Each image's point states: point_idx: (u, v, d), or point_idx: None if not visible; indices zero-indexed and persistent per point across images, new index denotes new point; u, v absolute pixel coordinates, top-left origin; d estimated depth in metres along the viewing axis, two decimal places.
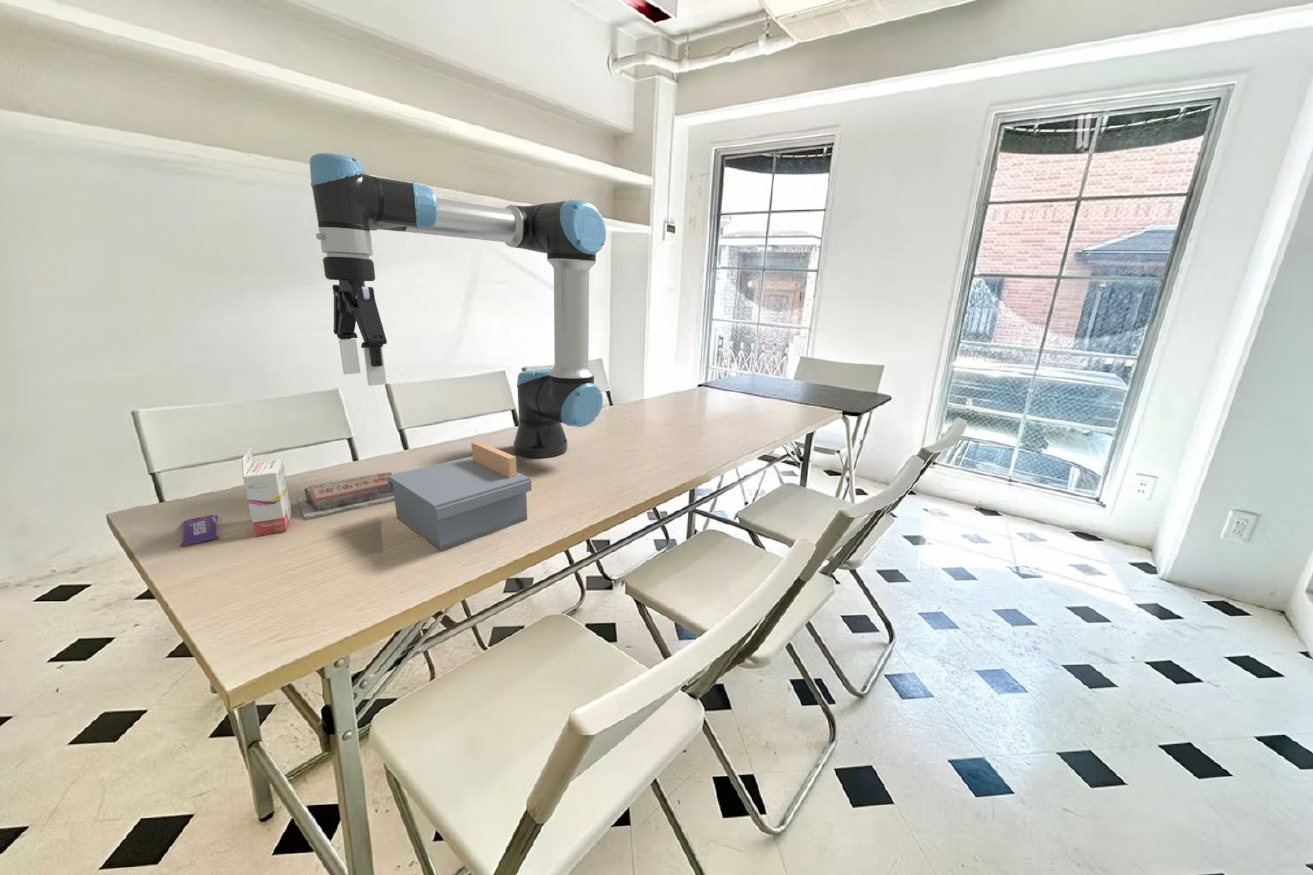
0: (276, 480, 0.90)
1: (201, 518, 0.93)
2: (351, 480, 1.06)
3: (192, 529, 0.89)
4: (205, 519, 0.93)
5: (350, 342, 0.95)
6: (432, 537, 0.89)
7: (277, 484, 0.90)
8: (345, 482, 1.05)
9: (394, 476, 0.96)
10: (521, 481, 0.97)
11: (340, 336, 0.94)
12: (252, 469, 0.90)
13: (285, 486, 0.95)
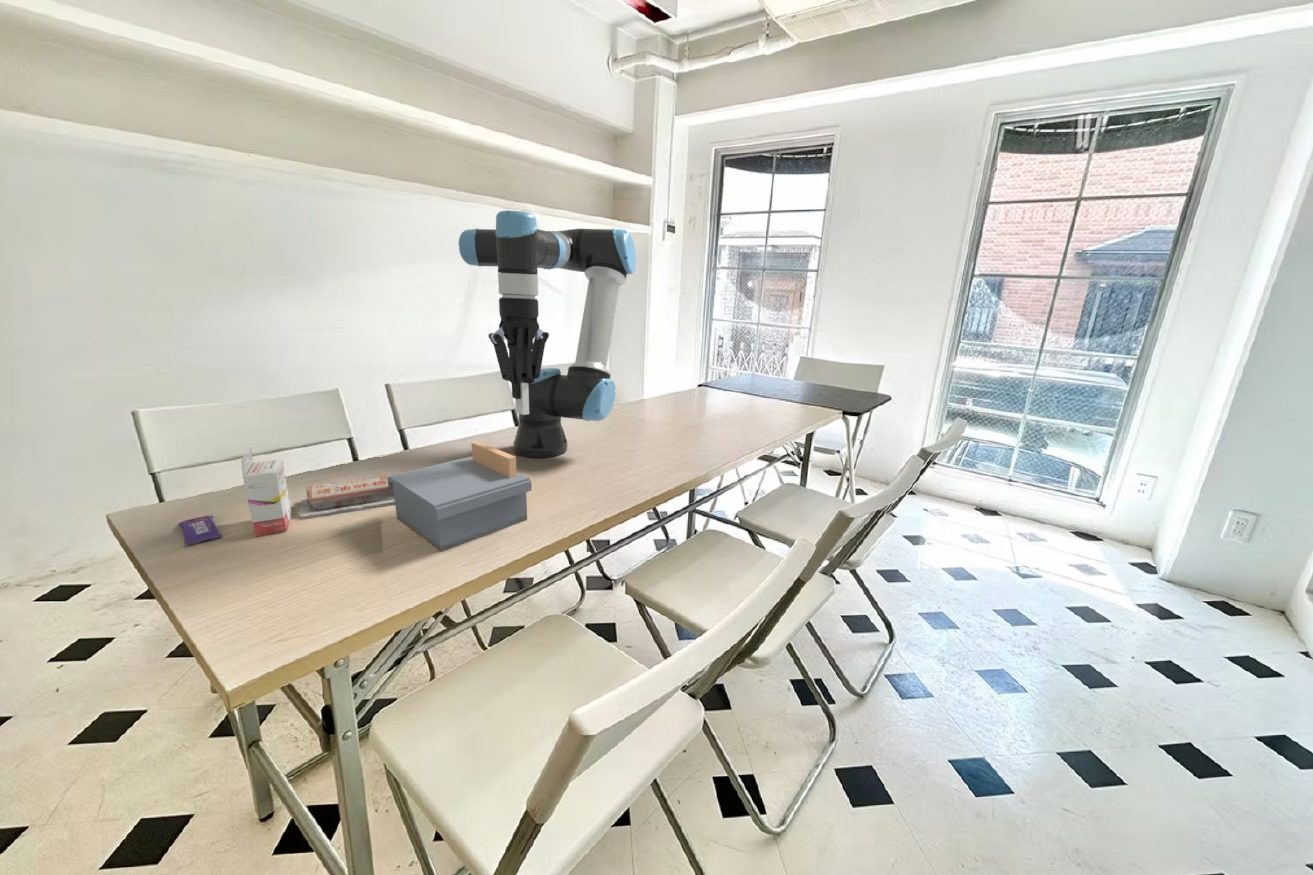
0: (276, 480, 0.90)
1: (198, 519, 0.93)
2: (352, 481, 1.05)
3: (193, 528, 0.89)
4: (203, 519, 0.93)
5: None
6: (432, 537, 0.89)
7: (277, 484, 0.90)
8: (346, 483, 1.04)
9: (394, 476, 0.96)
10: (521, 481, 0.97)
11: None
12: (252, 469, 0.90)
13: (285, 486, 0.95)
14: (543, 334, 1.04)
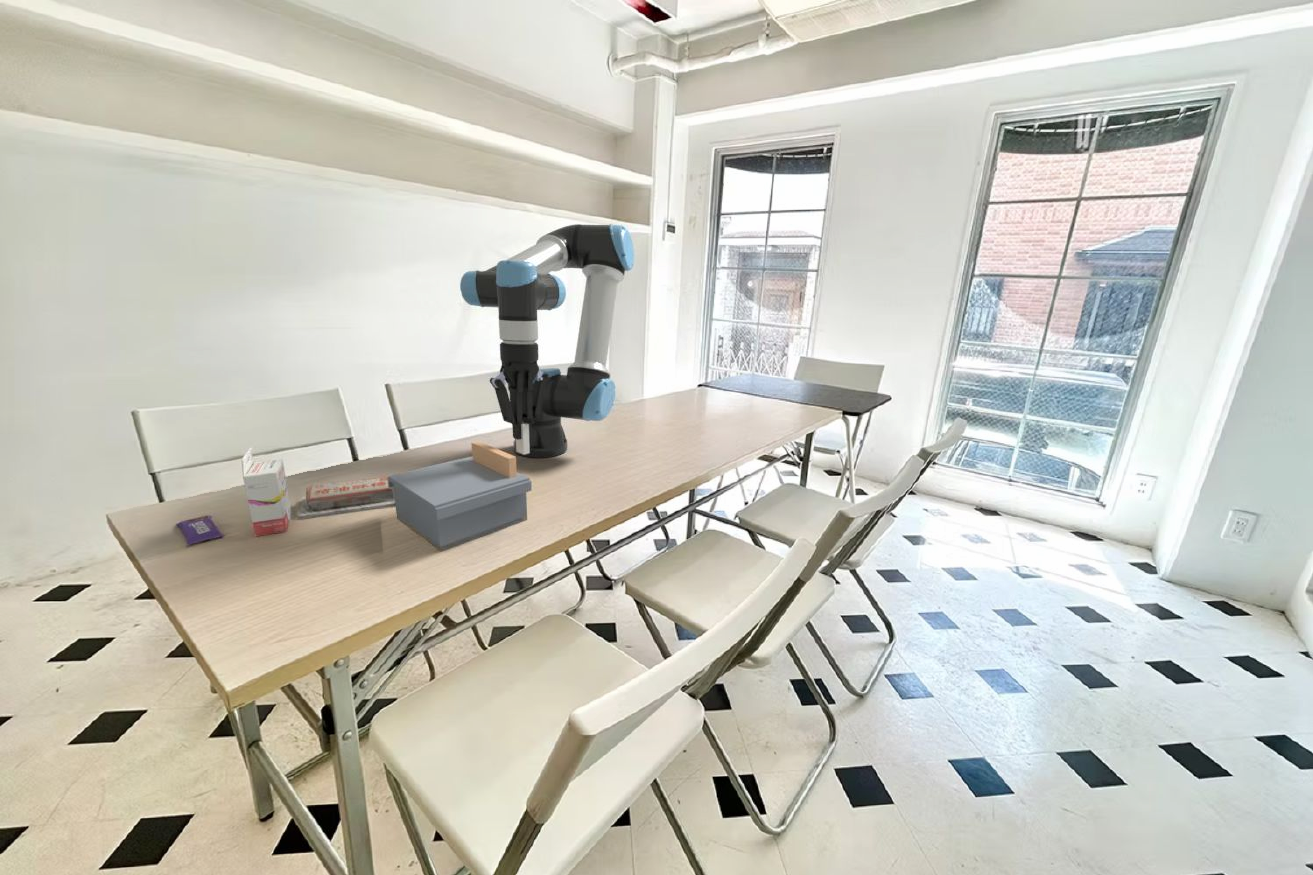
0: (276, 480, 0.90)
1: (197, 519, 0.93)
2: (352, 482, 1.05)
3: (194, 528, 0.89)
4: (202, 519, 0.93)
5: None
6: (432, 537, 0.89)
7: (277, 484, 0.90)
8: (345, 484, 1.04)
9: (394, 476, 0.96)
10: (521, 481, 0.97)
11: (521, 417, 1.06)
12: (252, 469, 0.90)
13: (285, 486, 0.95)
14: (543, 375, 1.06)
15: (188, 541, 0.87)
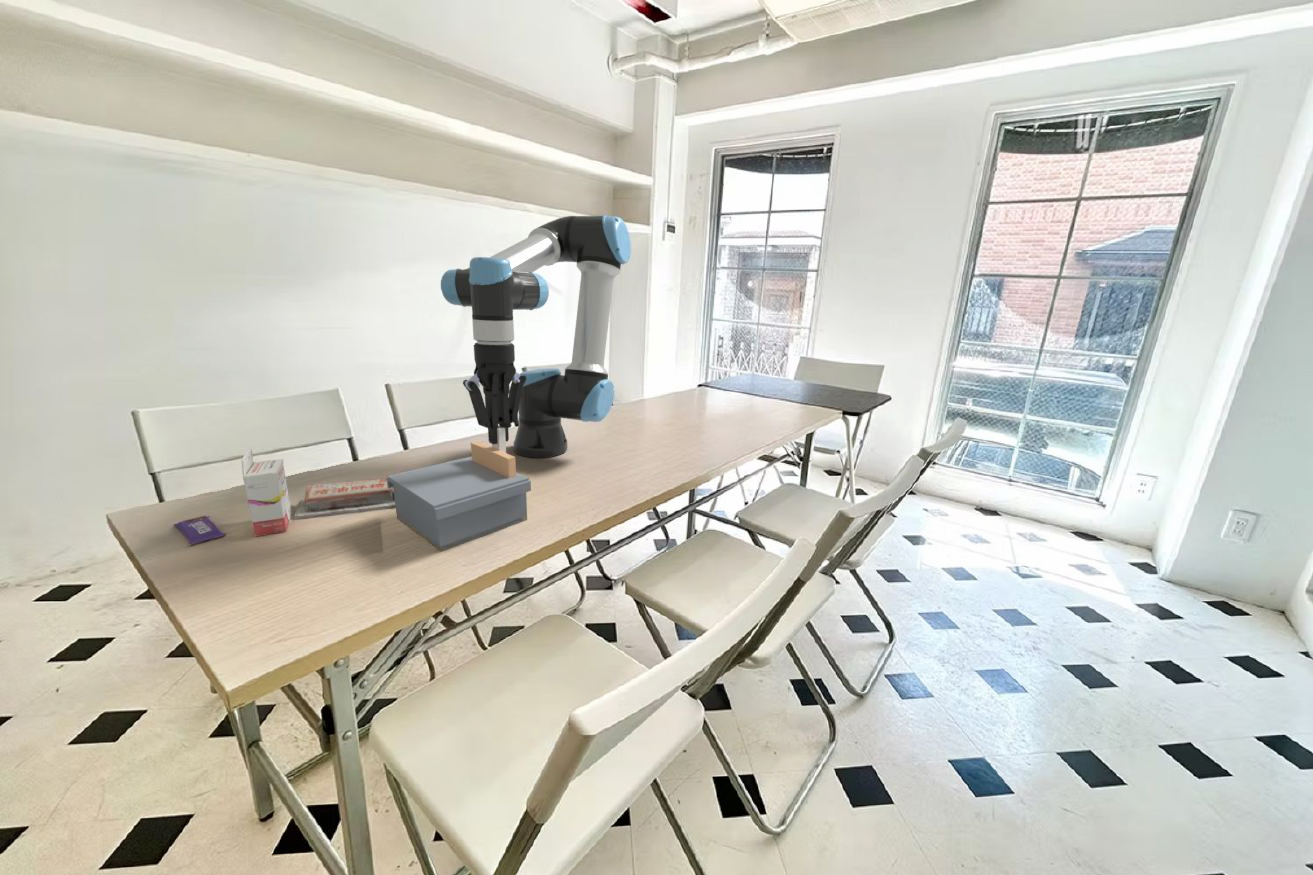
0: (276, 480, 0.90)
1: (195, 519, 0.93)
2: (352, 483, 1.05)
3: (194, 528, 0.89)
4: (201, 519, 0.93)
5: None
6: (432, 537, 0.89)
7: (277, 484, 0.90)
8: (345, 484, 1.04)
9: (393, 476, 0.96)
10: (520, 482, 0.97)
11: (498, 420, 1.02)
12: (252, 469, 0.90)
13: (285, 486, 0.95)
14: (520, 378, 1.02)
15: (190, 541, 0.87)
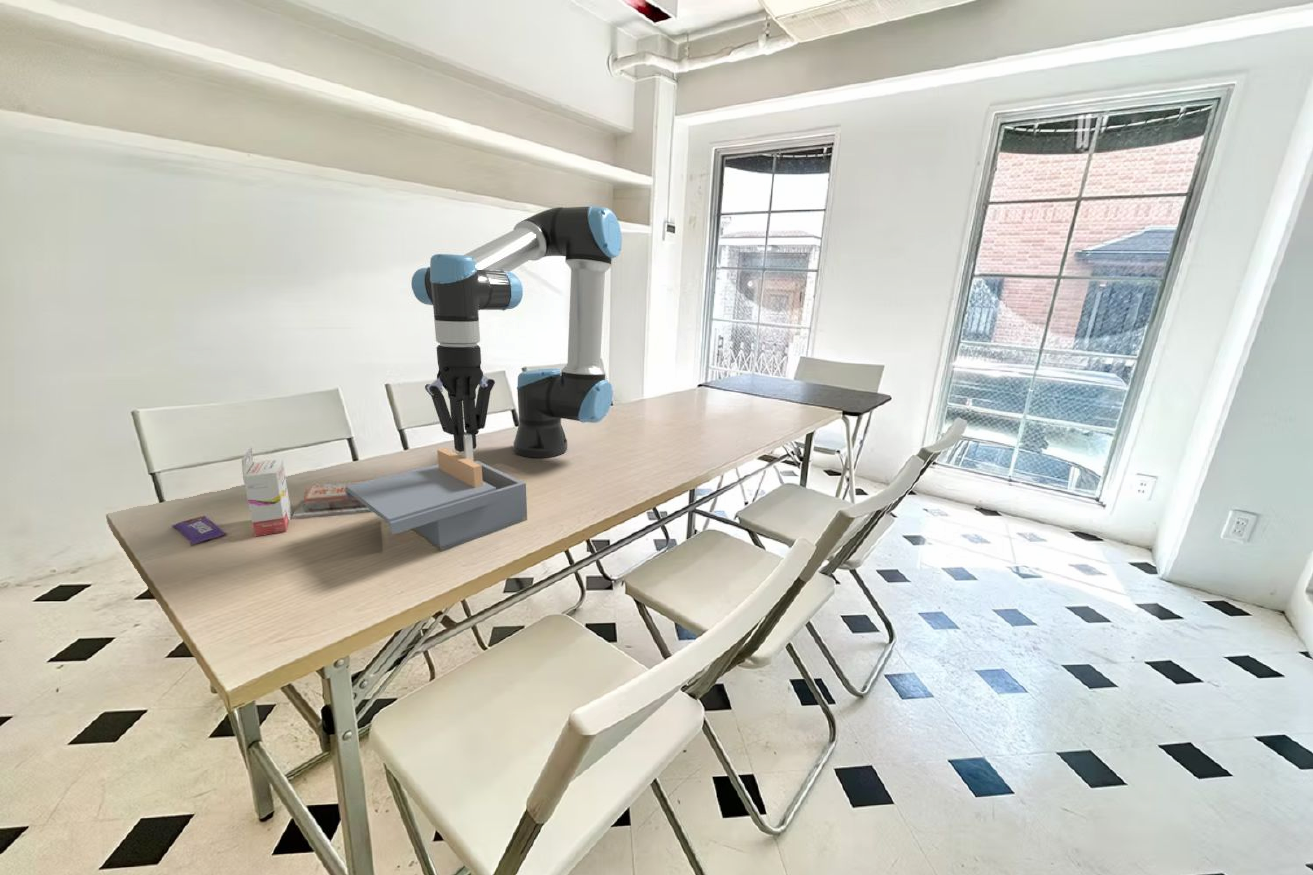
0: (276, 480, 0.90)
1: (194, 519, 0.93)
2: (352, 483, 1.04)
3: (194, 528, 0.89)
4: (200, 520, 0.93)
5: None
6: (432, 537, 0.89)
7: (277, 484, 0.90)
8: (345, 485, 1.04)
9: (352, 486, 0.91)
10: (486, 492, 0.92)
11: (465, 427, 0.97)
12: (252, 469, 0.90)
13: (285, 486, 0.95)
14: (488, 381, 0.97)
15: (192, 541, 0.87)
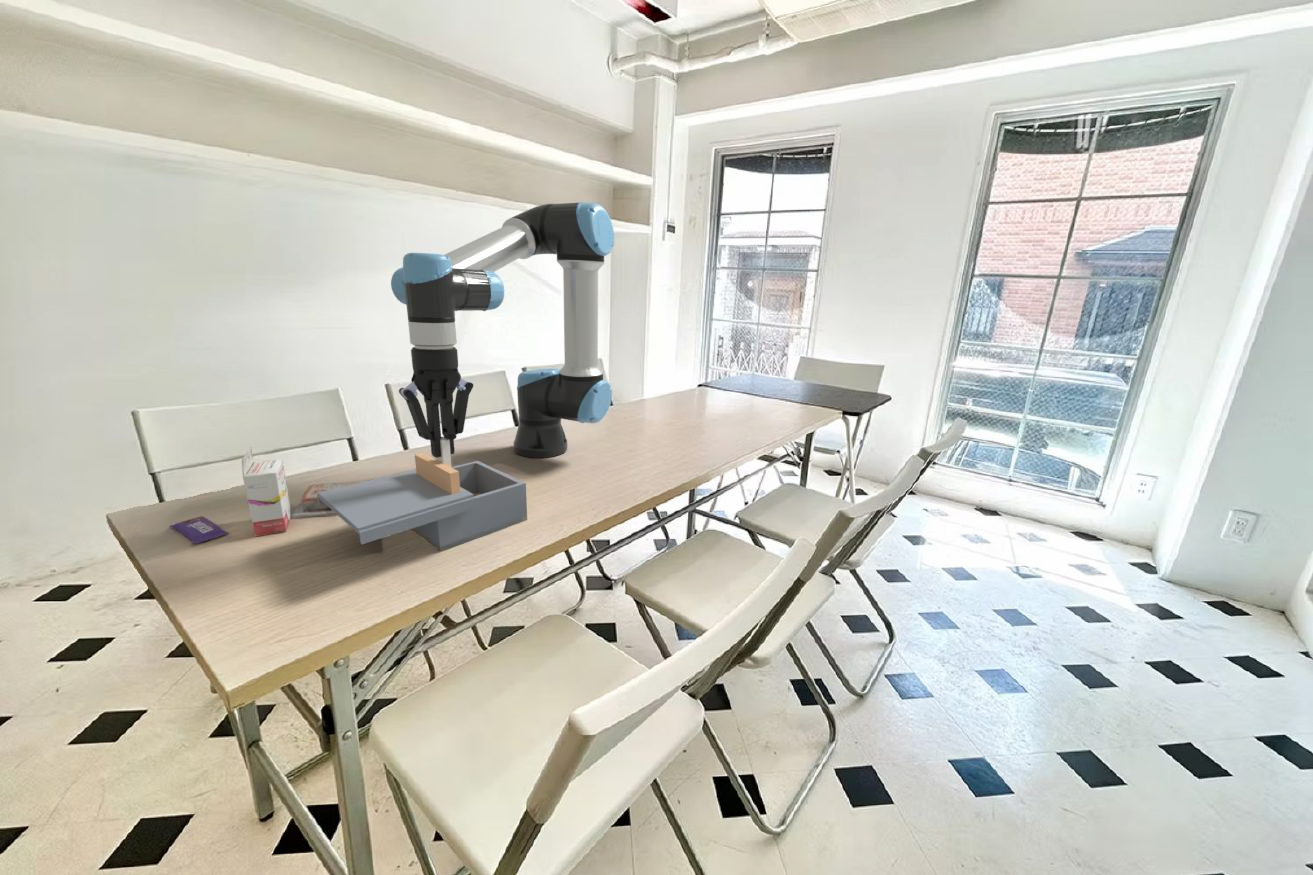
0: (276, 480, 0.90)
1: (193, 520, 0.93)
2: None
3: (195, 528, 0.89)
4: (199, 520, 0.93)
5: None
6: (432, 537, 0.89)
7: (277, 484, 0.90)
8: (344, 485, 1.03)
9: (324, 493, 0.88)
10: (463, 498, 0.88)
11: (442, 431, 0.94)
12: (252, 469, 0.90)
13: (285, 486, 0.95)
14: (466, 385, 0.93)
15: (193, 540, 0.87)
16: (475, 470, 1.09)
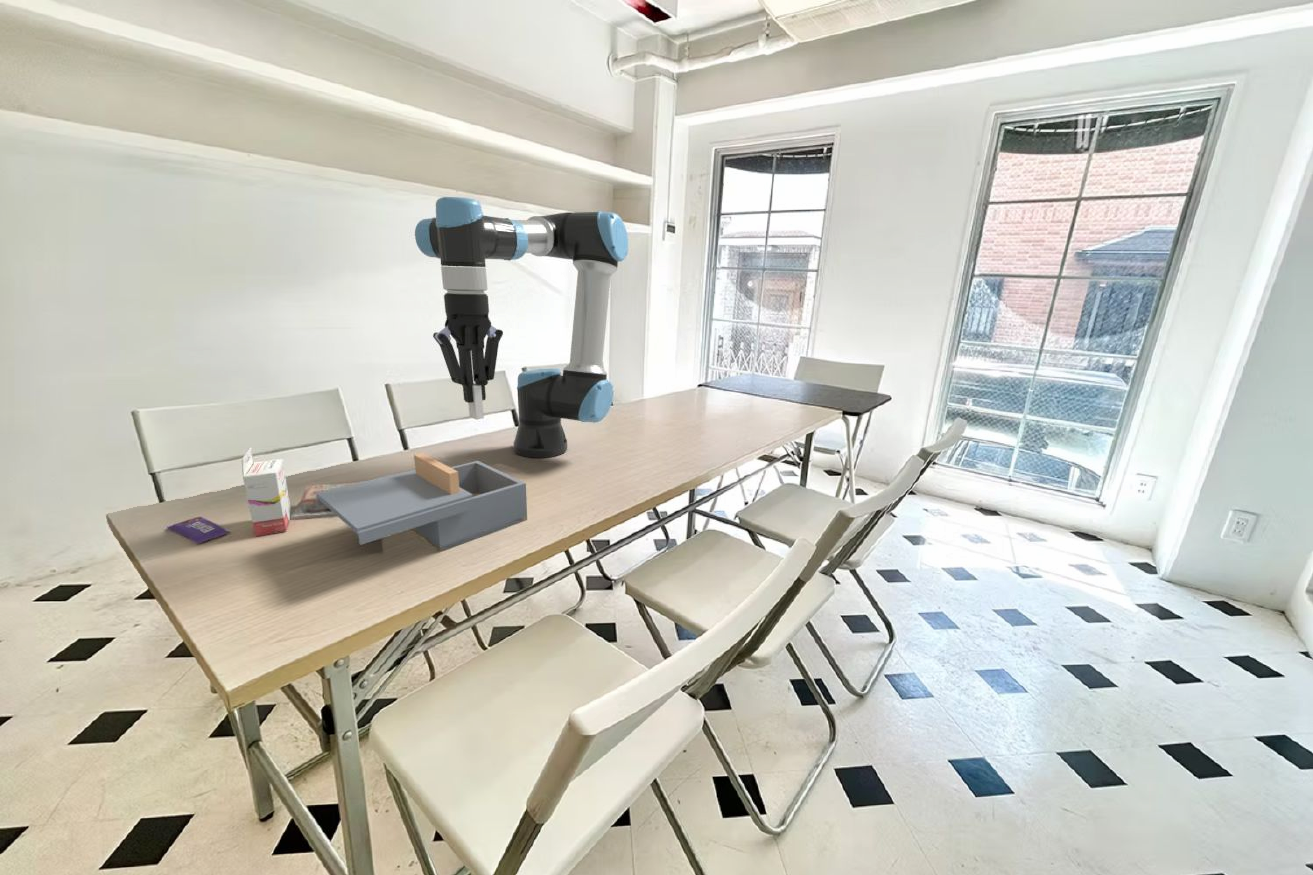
0: (276, 480, 0.90)
1: (191, 520, 0.92)
2: (350, 484, 1.04)
3: (195, 528, 0.89)
4: (197, 520, 0.92)
5: None
6: (432, 537, 0.89)
7: (277, 484, 0.90)
8: None
9: (323, 493, 0.87)
10: (463, 499, 0.88)
11: (474, 378, 0.96)
12: (252, 469, 0.90)
13: (285, 486, 0.95)
14: (496, 332, 0.96)
15: (196, 540, 0.87)
16: (475, 470, 1.09)
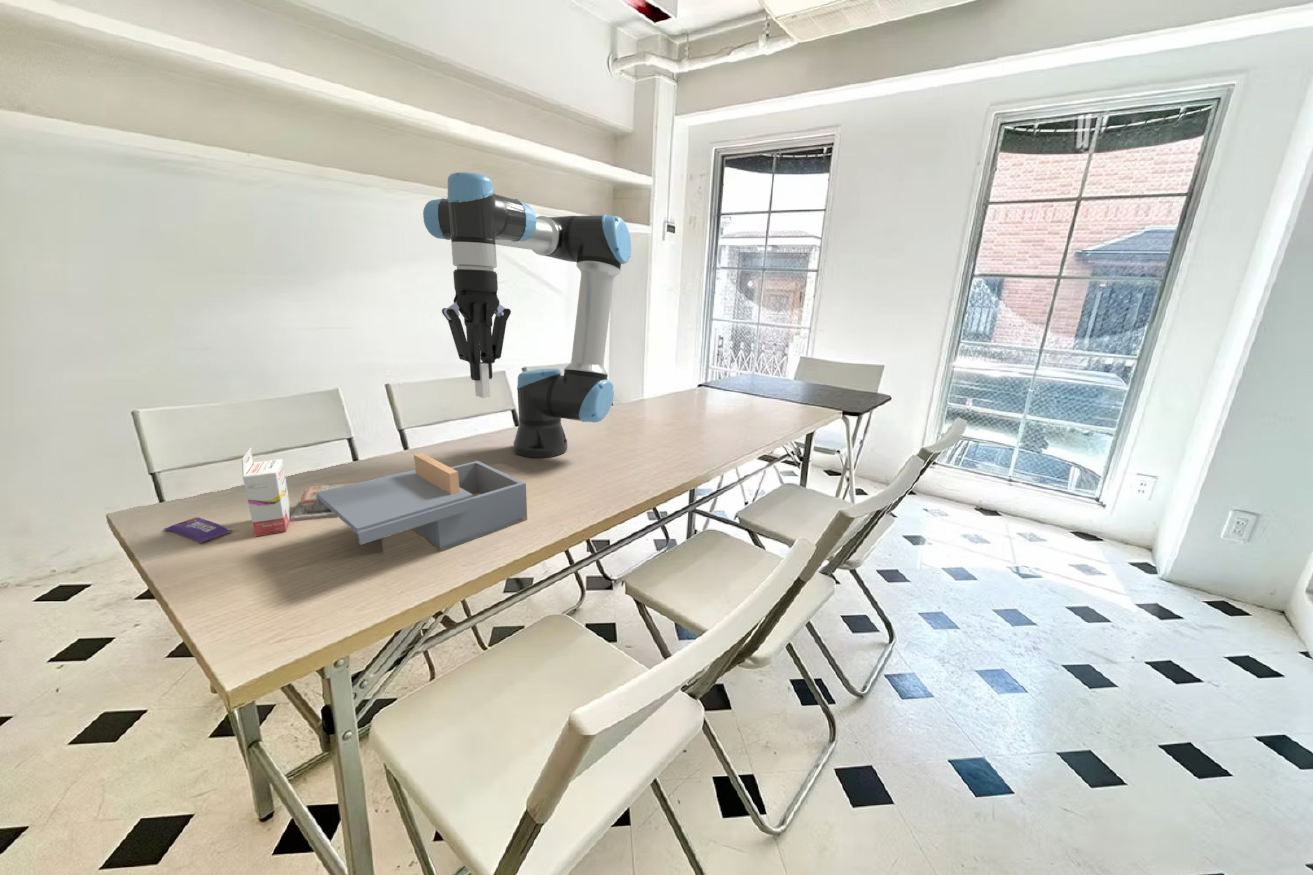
0: (276, 480, 0.90)
1: (189, 521, 0.92)
2: None
3: (196, 528, 0.89)
4: (196, 520, 0.92)
5: None
6: (432, 537, 0.89)
7: (277, 484, 0.90)
8: None
9: (323, 493, 0.87)
10: (463, 499, 0.88)
11: (481, 356, 0.96)
12: (252, 469, 0.90)
13: (285, 486, 0.95)
14: (504, 310, 0.96)
15: (199, 539, 0.87)
16: (475, 470, 1.09)
